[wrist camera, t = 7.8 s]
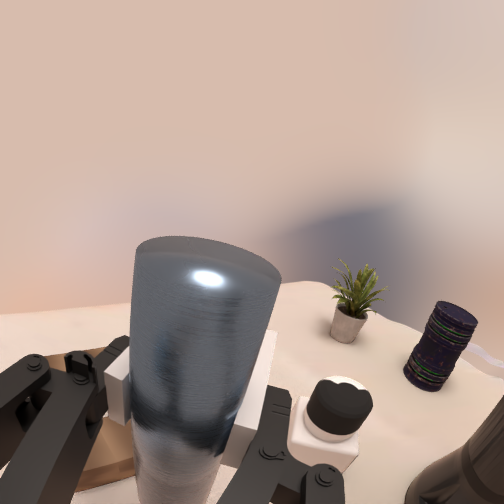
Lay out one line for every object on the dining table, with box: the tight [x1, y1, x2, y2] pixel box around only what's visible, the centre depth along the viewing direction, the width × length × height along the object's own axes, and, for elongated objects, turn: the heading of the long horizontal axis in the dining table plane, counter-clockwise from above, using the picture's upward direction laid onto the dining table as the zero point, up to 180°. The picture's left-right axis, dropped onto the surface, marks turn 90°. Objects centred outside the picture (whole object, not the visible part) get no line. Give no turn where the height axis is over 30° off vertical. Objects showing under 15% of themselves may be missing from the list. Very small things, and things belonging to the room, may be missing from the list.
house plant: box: [330, 259, 384, 343], centre depth 58 cm, size 14×14×16 cm
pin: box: [129, 236, 281, 504], centre depth 10 cm, size 4×4×15 cm
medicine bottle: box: [287, 376, 373, 473], centre depth 26 cm, size 7×7×12 cm
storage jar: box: [403, 301, 478, 392], centre depth 46 cm, size 10×10×15 cm
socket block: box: [44, 347, 135, 492], centre depth 26 cm, size 16×16×4 cm
